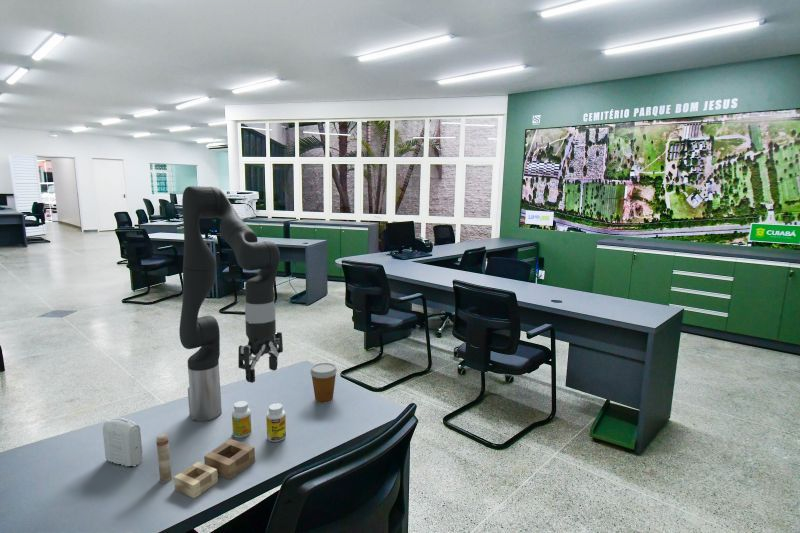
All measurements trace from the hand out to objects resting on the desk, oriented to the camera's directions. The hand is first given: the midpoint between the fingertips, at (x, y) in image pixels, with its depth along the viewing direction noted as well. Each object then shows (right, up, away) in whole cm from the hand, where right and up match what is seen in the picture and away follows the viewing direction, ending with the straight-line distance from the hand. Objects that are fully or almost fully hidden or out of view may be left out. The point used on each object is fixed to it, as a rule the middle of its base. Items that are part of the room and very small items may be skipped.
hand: (262, 375), depth 117 cm
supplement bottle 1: (-12, -22, +17) cm, 30 cm away
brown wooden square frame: (-9, -25, +2) cm, 26 cm away
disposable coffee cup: (+10, -19, +40) cm, 45 cm away
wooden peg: (-23, -26, -5) cm, 35 cm away
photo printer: (-39, -24, +3) cm, 46 cm away
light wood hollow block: (-14, -26, -7) cm, 31 cm away
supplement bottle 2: (0, -23, +15) cm, 27 cm away
